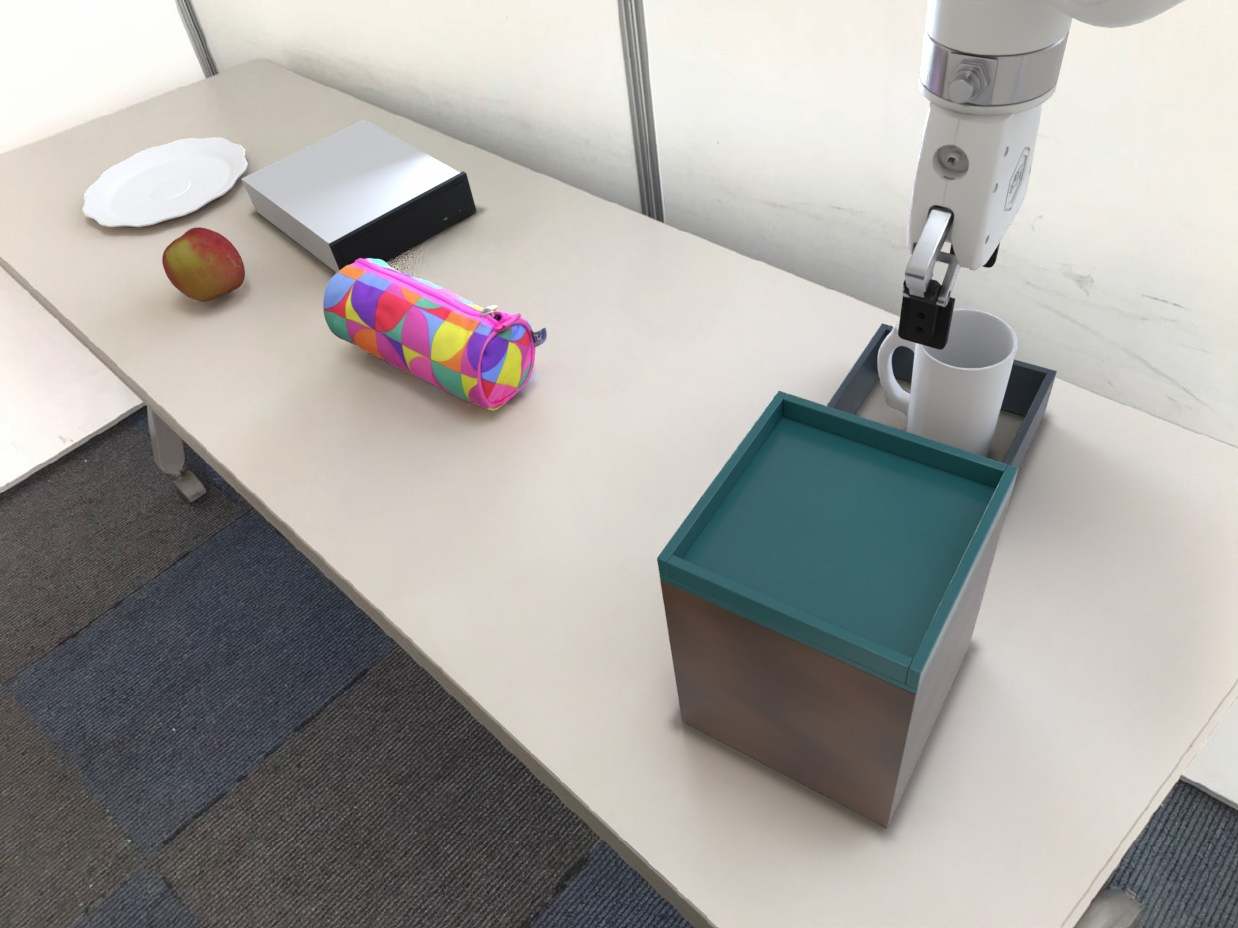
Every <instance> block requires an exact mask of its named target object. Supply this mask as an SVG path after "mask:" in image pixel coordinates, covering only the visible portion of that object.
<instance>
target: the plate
mask: <svg viewBox="0 0 1238 928" xmlns="http://www.w3.org/2000/svg"><path fill="white" fill-rule="evenodd" d="M246 154H247V150H246V148H244V147H243V145H241V144H238V143H234V142H232V141H230V140H228V139H226V138H224V137H218V136H213V137H204V138H201V137H200V138H198V137H188V138H181V139H177V140H174V141H171V142H168V143H165V144H161V145H156V146H151V147H148V148H146V149H143V150H141V151H138V152H136V153H135V154H133V155H131V156H130V157H128V158H126V159H124V160H122V161H119V162H117V163H116V164H113V165H112V166H110V167H109V168H107V169H106V170H104V171H103V172H102V173H101V175H99V177H98V178H97V180H95V182H93V183H92V184H91V185H90V186H88V187H87V188H86V189H85V191H84V193H83V195H82V196H83V197H82V198H83V201H84V202H83V206H82V208H81V211H82V214H83V215H84V216H85V218H88V219H91V220H93V221H94V220H95V222H97V223H98V224H99V226H103V227H108V228H117V227H134V228H142V227H148V226H153V225H156V224H159V223H164V222H167V221H172V220H175V219H178V218H182V217H185V216H187V215H189V214H192V213H194V212H196V211H198V210H199V209H201V208H204V207H206V206H207V205H208V204H210V203H211V202H213V201H214V200H217V199H218V198H220V197H222V196H224V195H225V194H226V193H228V192H229V191H230V190H231V189H233V187H234V185H236V182H237V180H238V179H239V178H240V177H241V176H242V175H243V174H244V173H245V172H246V171H247V169H248V166H249V163H248V161H247V159H246Z"/></svg>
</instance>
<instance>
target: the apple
mask: <svg viewBox="0 0 1238 928" xmlns="http://www.w3.org/2000/svg"><path fill="white" fill-rule="evenodd" d="M161 262H162V268H163V270H164V273H165V275H166V277H167V279H169V282H170V283H171V284H172V286H174V287H175V289H176V290H178V291H179V292H180V293H181V294H183V295H184V296H186V297H187V298H189V299H192V300H194V301H197V302H201V303H202V302H204V303H206V302H210V301H213V300H215V299H217V298H220V297H222V296H224V295H227V294H230V293H231V292H233V291H234V290H235V291H236V289H237V290H238V289H240V287H241V286H242V285H243V284H244V282H245V280H246V279H245V278H246V269H245V264H244V261H243V259H242V256H241V254H240V253H239V251H238V249H237V248H236V247H235V245H234V244H233V243H232V242H231V241H230V240H229V239H228V238H226V236H224V235H223V234H221V233H219V232H217V231H214V230H212V229H209V228H206V227H201V226H200V227H199V226H198V227H192V228H189V229H188V230H187V231H186V232H184V233H183V234H182V235H180V236H179V237H177V238H176V239H174V240H172V241H171V242H170V243H169V245H167V246H166V247H165V249H164V251H163V253H162V258H161Z"/></svg>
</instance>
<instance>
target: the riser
mask: <svg viewBox="0 0 1238 928" xmlns="http://www.w3.org/2000/svg"><path fill="white" fill-rule="evenodd" d="M1012 495H1013V492H1012V493H1011V496H1010V498H1009V500H1008V502H1007V504H1006V506H1005V508H1004V510H1003V512H1002V515H1001V517H1000V519H999V521H998V523H997V525H996V527H995V529H994V531H993V534H992V536H991V538H990V540H989V542H988V544H987V546H986V548H985V550H984V553H983V555H982V557H981V559H980V561H979V563H978V565H977V567H976V570H975V572H974V574H973V576H972V578H971V580H970V582H969V584H968V586H967V589H966V591H965V593H964V595H963V597H962V599H961V601H960V603H959V605H958V608H957V610H956V612H955V614H954V616H953V618H952V620H951V622H950V624H949V627H948V629H947V631H946V633H945V635H944V637H943V639H942V641H941V643H940V646H939V648H938V650H937V652H936V654H935V656H934V658H933V660H932V663H931V665H930V667H929V669H928V671H927V673H926V675H925V677H924V679H923V682H922V684H921V686H920V688H919V690H918V692H917V694H913V693H911V692H909V691H907V690H905V689H902V688H900V687H898V686H896V685H893V684H891V683H889V682H887V681H885V680H882V679H880V678H878V677H876V676H873V675H871V674H869V673H867V672H864V671H862V670H860V669H858V668H856V667H853V666H851V665H849V664H847V663H844V662H842V661H840V660H838V659H835V658H833V657H831V656H829V655H827V654H824V653H822V652H820V651H818V650H815V649H813V648H811V647H809V646H806V645H804V644H802V643H800V642H798V641H795V640H793V639H791V638H789V637H786V636H784V635H782V634H780V633H777V632H775V631H773V630H771V629H769V628H766V627H764V626H762V625H760V624H757V623H755V622H753V621H751V620H748V619H746V618H744V617H742V616H740V615H737V614H735V613H733V612H731V611H728V610H726V609H724V608H722V607H720V606H717V605H715V604H713V603H711V602H708V601H706V600H704V599H702V598H699V597H697V596H695V595H693V594H691V593H688V592H686V591H684V590H682V589H679V588H677V587H675V586H673V585H670V584H668V583H666V582H664V581H662V580H660V579H659V582H660V588H661V594H662V595H661V596H662V601H663V602H662V603H663V607H664V615H665V620H666V627H667V628H666V629H667V633H668V640H669V646H670V653H671V659H672V665H673V670H674V679H675V685H676V686H675V687H676V692H677V698H678V705H679V711H680V717H681V722H683V723H685V724H687V725H688V726H690V727H692V728H694V729H696V730H698V731H700V732H701V733H704V734H705V735H708V736H710V737H712V738H713V739H715V740H717V741H719V742H721V743H723V744H724V745H727V746H729V747H731V748H732V749H735V750H736V751H738V752H741V753H742V754H744V755H746V756H748V757H750V758H752V759H754V760H755V761H758V762H759V763H762V764H763V765H765V766H767V767H769V768H771V769H772V770H775V771H777V772H779V773H781V774H782V775H785V776H787V777H788V778H790V779H792V780H794V781H796V782H797V783H800V784H802V785H804V786H805V787H807V788H809V789H811V790H813V791H815V792H817V793H819V794H821V795H823V796H825V797H827V798H829V799H831V800H832V801H835V802H837V803H838V804H841V805H843V806H844V807H845V808H848V809H850V810H852V811H854V812H856V813H857V814H859V815H861V816H864V817H865V818H867V819H869V820H871V821H873V822H875V823H877V824H879V825H880V826H882V827H885V828H886V829H887V828H888V827H889V825H890V823H891V821H892V819H893V817H894V814H895V813H896V810H897V808H898V806H899V803H900V801H901V799H902V796H903V794H904V792H905V790H906V788H907V786H908V783H909V782H910V778H911V777H912V774H913V772H914V770H915V767H917V766H916V765H917V764H918V761H919V760H920V757H921V755H922V752H923V750H924V748H925V746H926V744H927V741H928V739H929V737H930V734H931V732H932V731H933V728H934V726H935V724H936V721H937V718H938V717H939V715H940V713H941V710H942V708H943V706H944V704H945V701H946V699H947V697H948V695H949V693H950V691H951V688H952V686H953V683H954V681H955V679H956V677H957V675H958V673H959V671H960V668H961V666H962V663H963V661H964V659H965V657H966V654H967V653H968V650H969V648H970V645H971V641H972V638H973V634H974V631H975V627H976V623H977V620H978V617H979V613H980V609H981V605H982V602H983V598H984V596H985V591H986V587H987V583H988V581H989V577H990V573H991V570H992V567H993V566H992V565H993V562H994V560H995V555H996V552H997V548H998V544H999V540H1000V537H1001V534H1002V530H1003V526H1004V523H1005V519H1006V515H1007V512H1008V509H1009V505H1010V501H1011V497H1012Z"/></svg>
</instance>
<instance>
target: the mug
mask: <svg viewBox="0 0 1238 928" xmlns="http://www.w3.org/2000/svg"><path fill="white" fill-rule="evenodd" d="M899 322H900V320H898V321H896V322H895V323H894V324H893V325H892V326H893V329H892V331H891V332H890V333H889V335H888V336H887V337H886V338H885V340H884V341H883V343H882V345H881V346H880V349H879V352H878V373H879V377H878V378H879V381H880V384H881V388H882V392H883V395H884V399H885V403H886V405H887V406H888V407H889V408H892V409H894V410H897V411H899V412H900V413H902V414H903V415H904V416H905V417H906V419H907V420H906V427H905V429H906V430H905V431H906V432H909V433H912V434H915V435H918V436H921V437H924V438H927V439H930V440H934V441H937V442H940V443H943V444H946V445H949V446H952V447H955V448H958V449H961V450H964V451H968V452H971V453H974V454H977V455H980V456H983V457H986V458H988V455H989V452H990V449H991V445H992V443H993V439H994V435H995V431H996V427H997V425H998V424H997V423H998V421H999V420H998V419H999V416H1000V413H1001V410H1002V409H1001V405H1002V402H1003V398H1004V394H1005V391H1006V387H1007V384H1008V380H1009V376H1010V373H1011V369H1012V365H1013V361H1014V359H1015V355H1016V353H1017V351H1018V345H1019V342H1018V337H1017V334H1016V332H1015V330H1014V329H1013V327H1012V326H1011V325H1010V324H1008V323H1007V321H1005V320H1003V319H1002V318H1000V317H998V316H996V315H994V314H992V313H990V312H987V311H983V310H979V309H972V308H954V309H953V315H952V320H951V326H950V331H949V336H948V342H947V344H946V346H945V347H944V349H942V350H939V349H935V348H931V347H928V346H924V345H921V344H918V343H914V342H911V341H907V340H904V339H901V338H900V337H899V336H898V329H899ZM899 346H905V347H908V348H910V349H911V350H912V351H913V352H914V353H915V355H914V364H913V373H912V382H910V393H909V392H906V391H905V390H904V389H903V388H902V387H901V386H900V384H899V383H898V381H897V378H895V377H894V374H893V370H892V362H891V361H892V354H893V352H894V350H895V349H896V348H897V347H899Z"/></svg>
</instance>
